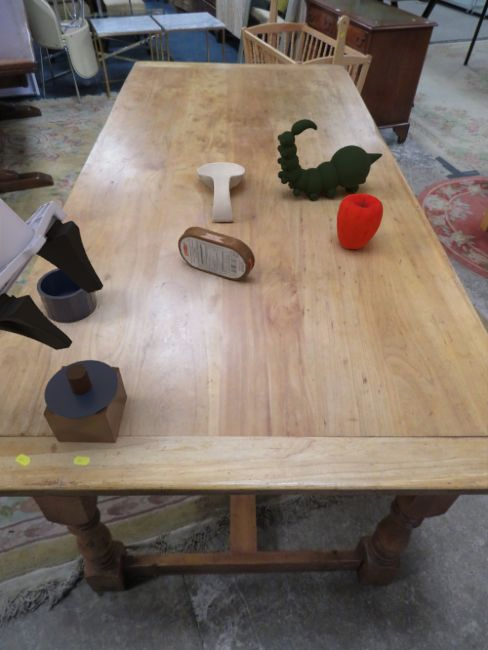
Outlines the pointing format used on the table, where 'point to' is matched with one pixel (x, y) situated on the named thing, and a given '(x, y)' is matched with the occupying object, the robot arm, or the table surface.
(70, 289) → the grey short cylinder
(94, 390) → the tin lid
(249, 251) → the tin
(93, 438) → the riser
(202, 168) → the spoon rest
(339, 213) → the apple
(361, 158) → the toy figurine
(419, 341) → the table surface
